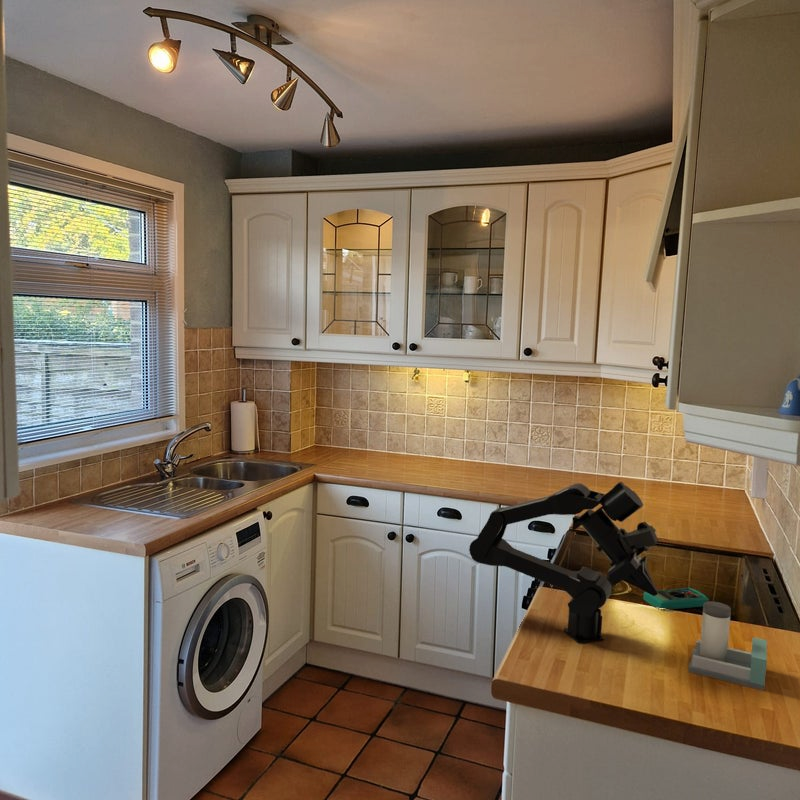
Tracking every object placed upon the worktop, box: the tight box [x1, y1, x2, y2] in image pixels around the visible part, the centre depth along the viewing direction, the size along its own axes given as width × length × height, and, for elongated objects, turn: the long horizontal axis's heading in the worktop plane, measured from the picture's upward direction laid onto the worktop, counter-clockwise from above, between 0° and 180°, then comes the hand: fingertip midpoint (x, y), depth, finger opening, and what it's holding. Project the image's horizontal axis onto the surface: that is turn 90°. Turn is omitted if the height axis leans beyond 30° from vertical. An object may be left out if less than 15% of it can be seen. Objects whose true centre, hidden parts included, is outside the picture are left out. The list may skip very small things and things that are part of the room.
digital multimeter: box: [643, 587, 710, 610], centre depth 170 cm, size 7×15×3 cm, turn 106°
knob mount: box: [688, 637, 768, 691], centre depth 135 cm, size 13×10×6 cm
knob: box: [700, 600, 732, 662], centre depth 136 cm, size 5×5×11 cm
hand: (656, 594), depth 141 cm, fingers closed
